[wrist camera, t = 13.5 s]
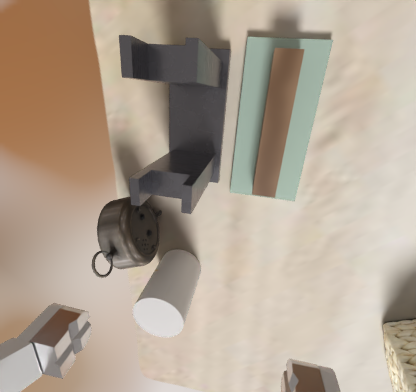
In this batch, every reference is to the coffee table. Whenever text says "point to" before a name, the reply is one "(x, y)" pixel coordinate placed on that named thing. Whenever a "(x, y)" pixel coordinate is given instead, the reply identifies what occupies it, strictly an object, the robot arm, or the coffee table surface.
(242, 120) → the mat
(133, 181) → the hook stand
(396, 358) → the storage basket
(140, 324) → the white cylinder
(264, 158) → the rail
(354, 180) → the coffee table surface
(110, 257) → the alarm clock
